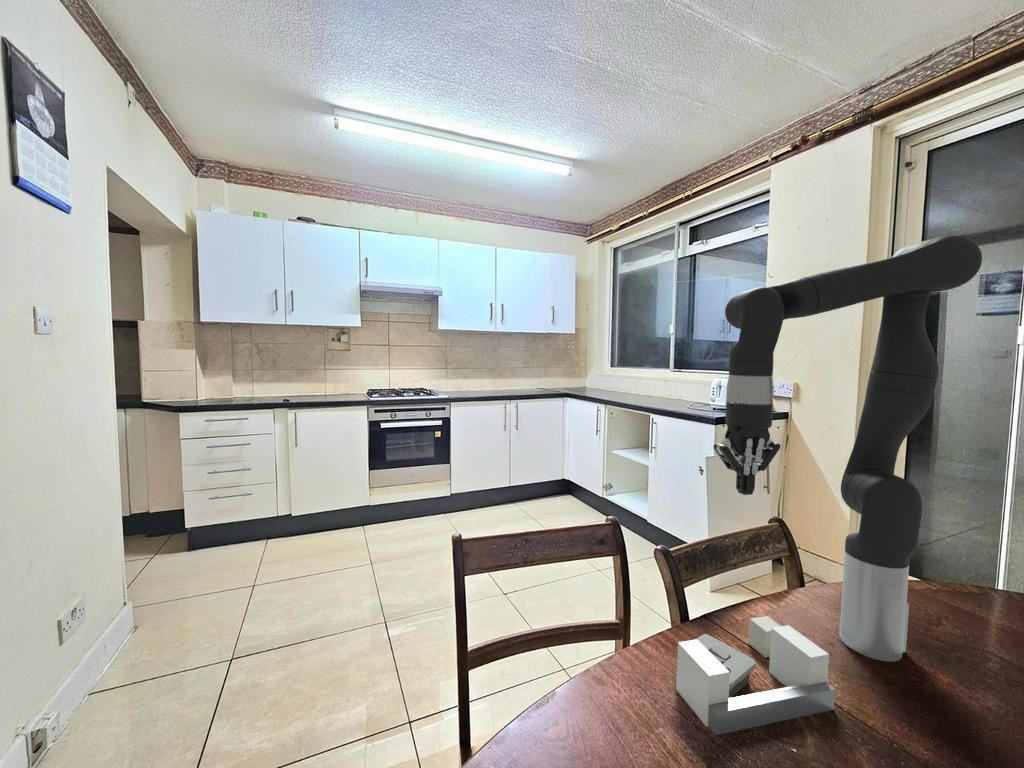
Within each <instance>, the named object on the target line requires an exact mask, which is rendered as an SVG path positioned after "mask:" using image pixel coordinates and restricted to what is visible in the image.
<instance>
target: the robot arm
mask: <svg viewBox="0 0 1024 768" xmlns="http://www.w3.org/2000/svg"><path fill="white" fill-rule="evenodd" d="M982 263H983V255H982V250H981V249H980V247H979V244H977V243H976V242H975V241H974V240H972V239H970V238H968V237H965V236H961V235H943V236H938V237H934V238H931V239H927V240H922V241H919V242H915V243H913V244H908V245H906V246H903V247H902V248H900V249H898V250H897V251H896V252H895V253H894V254H893V255H892V256H891V257H890V258H889V257H888V258H885V259H881V260H877V261H876V260H875V261H872V262H868V263H863V264H856V265H852V266H847V267H843V268H837V269H832V270H831V269H830V270H828V271H827V270H826V271H822V272H819V273H814V274H810V275H806V276H802V277H799V278H794V279H793V280H788V281H787V282H783V283H781V284H777V285H771V286H760V287H759V286H758V287H755V288H753V289H748V290H745V291H742V292H739V293H737V294H735V295H733V296H732V297H731V299H730V300H729V301H728V302H727V304H726V306H725V310H724V314H725V319H726V321H727V322H728V324H730V326H732V327H734V328H736V329H739V330H740V332H739V337H738V341H737V342H736V343H735V344H734V345H733V346H731V348H730V352H729V361H728V364H729V365H728V380H727V384H726V395H725V397H726V398H725V419H724V420H725V424H726V426H727V430H726V432H725V434H724V440H722V441H721V442H720V443H714V445H713V449H714V451H715V452H716V454H717V455H718V457H719V459H720V460H721V461H722V463H723V465H724V466H725V467H726V469H727V470H731V471H734V472H735V473H736V479H735V480H736V481H735V483H736V484H735V488H736V490H737V492H738V493H739V494H742V495H743V496H748V495H749V496H751V495H753V494H754V491H755V488H756V484H755V483H756V475H757V474H758V473H759V472H761V471H762V472H764V471H766V469H768V466H769V465H770V464H771V462H772V461H773V459H774V458H775V456H776V455H777V454H778V452H779V451H780V449H781V444H780V443H777V442H774V441H773V440H772V439H771V433H770V431H769V428H771V427H772V426H773V412H774V411H773V409H774V408H773V407H774V394H775V393H774V392H775V388H774V380H773V377H774V376H773V375H774V353H775V349H776V346H777V343H778V341H779V338H780V333H781V330H782V327H783V322H784V321H785V320H788V319H799V318H805V317H811V316H814V315H819V314H823V313H827V312H831V311H834V310H838V309H842V308H846V307H850V306H853V305H857V304H862V303H865V302H868V301H872V300H875V299H880V298H882V300H883V301H882V309H881V310H882V311H881V318H880V324H879V330H878V335H877V340H876V346H875V352H874V356H873V360H872V364H871V368H870V371H869V376H868V381H867V385H866V391H865V398H864V401H863V402H864V403H863V408H862V411H861V415H860V420H859V424H858V428H857V432H856V437H855V440H854V441H855V442H854V445H853V447H852V450H851V452H850V456H849V459H848V461H847V464H846V466H845V470H844V472H843V475H842V478H841V483H840V495H841V498H842V500H843V502H844V503H845V505H846V506H847V507H848V508H850V509H851V510H853V511H854V512H856V513H858V514H859V515H860V523H859V528H858V532H853V533H850V534H847V536H846V537H845V540H844V541H845V543H844V557H843V571H842V572H843V573H842V586H841V587H842V588H841V604H840V617H839V619H840V620H839V631H838V632H839V633H838V637H839V639H840V640H841V642H842V643H844V645H845V646H847V647H848V648H850V649H851V650H853V651H854V652H856V653H859V654H860V655H863V656H865V657H866V658H870V659H873V660H878V661H881V662H891V663H892V662H893V663H895V662H898V661H901V660H902V658H903V653H906V652H907V651H906V650H907V639H908V638H907V637H908V628H909V627H908V623H909V614H910V613H909V611H910V603H909V602H908V601H907V599H908V587H909V572H910V570H909V569H910V560H911V558H912V555H914V553H915V552H916V549H917V547H918V542H919V534H920V528H921V523H922V516H923V513H922V512H923V503H922V502H923V501H922V497H921V494H920V491H919V490H918V488H917V487H916V486H915V485H914V483H912V482H910V481H909V480H907V479H905V478H903V477H901V476H898V475H895V468H896V462H897V459H898V454H899V451H900V448H901V445H902V444H903V442H904V441H905V439H906V437H908V435H909V434H910V433H911V431H913V430H914V428H916V426H917V425H918V424H919V422H921V420H923V418H924V417H925V415H926V414H927V413H928V411H929V409H930V408H931V405H932V402H933V399H934V394H935V390H936V386H937V383H938V382H937V381H938V377H939V371H940V370H939V362H938V359H937V355H936V353H935V350H934V347H933V345H932V342H931V340H930V337H929V336H928V332H927V327H926V315H927V308H928V304H929V300H930V297H931V294H932V293H938V292H939V293H940V292H944V291H949V290H953V289H956V288H958V287H961V286H963V285H965V284H967V283H968V282H969V281H971V280H972V279H973V278H974V277H976V275H977V274H978V272H979V270H980V268H981V267H982Z"/></svg>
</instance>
